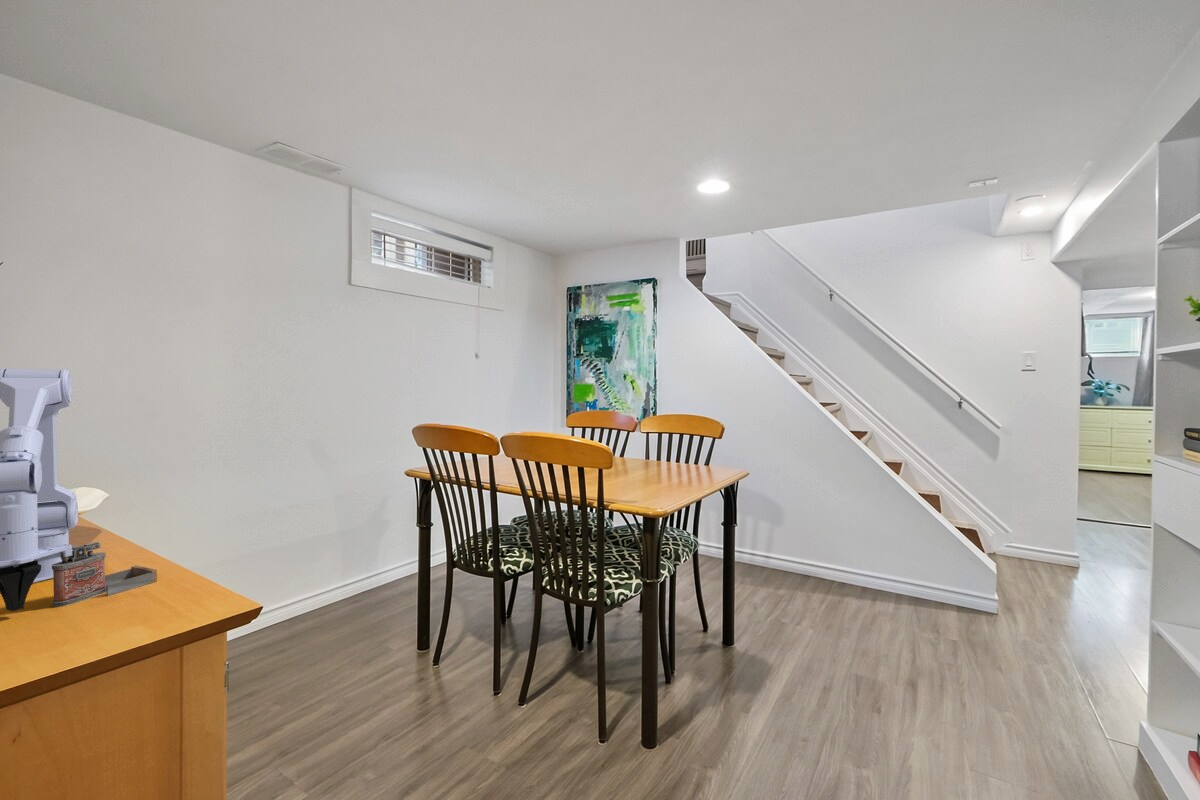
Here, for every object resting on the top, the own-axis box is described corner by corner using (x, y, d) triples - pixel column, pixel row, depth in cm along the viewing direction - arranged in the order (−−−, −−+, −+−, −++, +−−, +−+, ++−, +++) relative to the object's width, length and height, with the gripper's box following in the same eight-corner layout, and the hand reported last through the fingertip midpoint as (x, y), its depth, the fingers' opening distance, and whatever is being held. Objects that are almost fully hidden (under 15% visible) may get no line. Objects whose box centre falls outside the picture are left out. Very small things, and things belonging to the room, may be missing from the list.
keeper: (86, 590, 102) (86, 578, 102) (135, 576, 110) (135, 565, 110) (107, 595, 100) (107, 583, 99) (156, 581, 107) (156, 569, 107)
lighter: (61, 607, 94) (60, 552, 94) (47, 606, 95) (46, 551, 95) (111, 590, 102) (110, 540, 102) (97, 589, 103) (96, 539, 103)
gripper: (-39, 544, 82) (-37, 630, 82) (81, 522, 95) (82, 596, 96) (-60, 540, 84) (-58, 623, 85) (59, 519, 98) (60, 591, 98)
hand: (15, 608), depth 90 cm, fingers closed
